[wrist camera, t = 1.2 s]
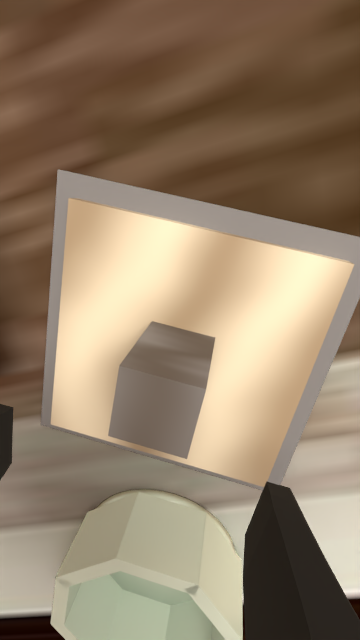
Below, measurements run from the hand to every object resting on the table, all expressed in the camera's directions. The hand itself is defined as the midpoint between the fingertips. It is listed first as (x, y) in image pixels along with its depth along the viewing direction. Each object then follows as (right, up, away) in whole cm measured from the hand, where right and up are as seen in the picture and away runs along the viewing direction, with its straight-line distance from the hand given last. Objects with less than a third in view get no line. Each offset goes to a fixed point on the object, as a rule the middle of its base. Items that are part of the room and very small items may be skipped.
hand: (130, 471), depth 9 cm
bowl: (0, -11, +13) cm, 17 cm away
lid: (+1, +3, +7) cm, 8 cm away
